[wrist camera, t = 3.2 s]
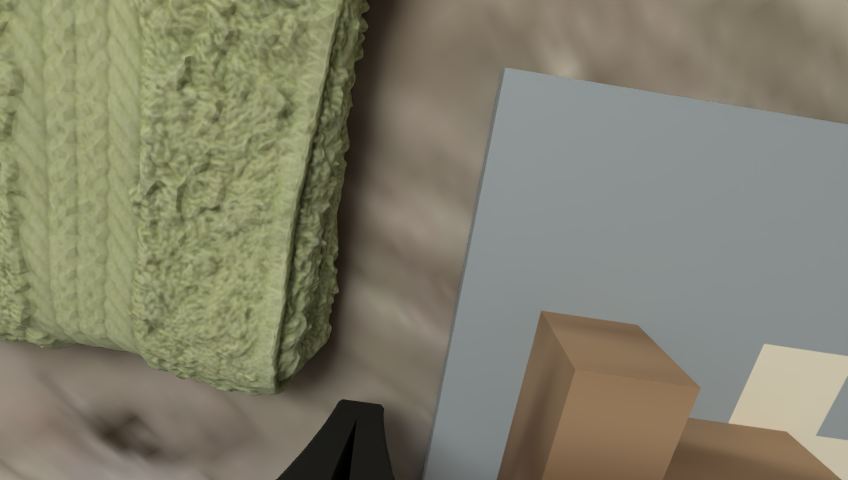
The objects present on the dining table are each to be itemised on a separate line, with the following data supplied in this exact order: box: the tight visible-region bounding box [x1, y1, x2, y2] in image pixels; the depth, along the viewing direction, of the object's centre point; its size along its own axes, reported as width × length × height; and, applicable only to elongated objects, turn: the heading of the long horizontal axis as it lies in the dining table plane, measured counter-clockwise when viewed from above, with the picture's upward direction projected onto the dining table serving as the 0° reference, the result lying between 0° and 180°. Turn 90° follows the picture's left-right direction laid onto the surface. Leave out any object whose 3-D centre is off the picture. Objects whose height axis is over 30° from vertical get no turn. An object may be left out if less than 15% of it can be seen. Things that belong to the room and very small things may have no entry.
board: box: [422, 68, 848, 480], centre depth 14 cm, size 20×20×1 cm
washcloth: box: [0, 0, 370, 396], centre depth 10 cm, size 13×18×3 cm
